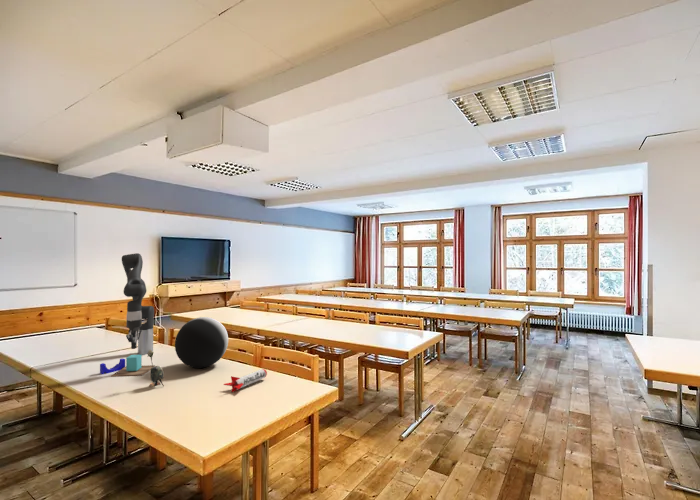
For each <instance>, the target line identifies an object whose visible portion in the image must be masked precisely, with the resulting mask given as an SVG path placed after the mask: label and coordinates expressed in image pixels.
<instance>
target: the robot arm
mask: <svg viewBox="0 0 700 500" xmlns="http://www.w3.org/2000/svg"><path fill="white" fill-rule="evenodd" d="M121 263H122V267H123V270H124V272H125V276H126V284H125V286H124V288H123V294H124V296H125V297H127V298H131V299H132V300H129V301H128V302H127V303H126V305H127V306H126V323H125V325H126V328H127V329H128V334H126V335H125V337H126V339H127V341H128V343H130V345H131V346H130V349H131V350H135V349H137V355H142V356H146V355H148V354H147V353H148V351H149V350H152V351H153V352H154V324H155V322H154V321H155V320H154V319H155V307H154V306H153V305H142V302H143V299H144V297H146V296H145V295H146V294H147V286H146V283H145V281H144V280H143V279H142V277H141V275H142V270H143V264H144V263H143V257H142V254H141V253H135V252H134V253H129V254H124V255H122V257H121ZM143 320H146V321H145V322H144V323H143Z"/></svg>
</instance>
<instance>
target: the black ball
mask: <svg viewBox="0 0 700 500" xmlns="http://www.w3.org/2000/svg"><path fill="white" fill-rule="evenodd" d="M228 345H229V335H228V331H227V329H226V327H225V326H224V325H223V324H222V322H220V321H219V320H217V319H215V318H212V317H209V316H200V317H196V318H192V319H190V320H189V321H187V322H186V323H184V324H183V326H181V328H180V329H179V330H178V332H177V334H176V336H175V339H174V351H175V354H176V356H177V358H179V360H180V361H181V362H182V363H183V364H184V365H186V366H188V367H191V368H196V369H201V368H202V369H203V368H207V367H210V366H212V365H214V364H216V363H217V362H219V360H221V358H223V356H224V355H225V353H226V351H227V349H228V347H229V346H228Z"/></svg>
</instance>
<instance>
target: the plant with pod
mask: <svg viewBox="0 0 700 500" xmlns="http://www.w3.org/2000/svg"><path fill="white" fill-rule="evenodd" d="M146 355H147V357H149V358H150V361H151V365H152V368H151V370H150V380H151V382H150V383H149V385H148V386H149V387H156V386H160V385H162V387H165V384H164V383H163V381H162V379H164V377H165V372H164V370H163V368H162V367H161V366H160V365H155V366H154V367H153V365H154V364H153V355H154V350H153V351H152V350H149V351H148V353H147V354H146Z"/></svg>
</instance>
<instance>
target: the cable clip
mask: <svg viewBox="0 0 700 500" xmlns="http://www.w3.org/2000/svg"><path fill="white" fill-rule="evenodd" d="M124 367H126V358H123V357H122V358H120V359H119V362H118V363H116V364H115V365H114V366H113V367H110V368H108V367H107V365H106V363H104V362H101V363H99V374H100V375H104V374H109V373H116V372H118V371H119V370H121V369H123V368H124Z"/></svg>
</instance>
